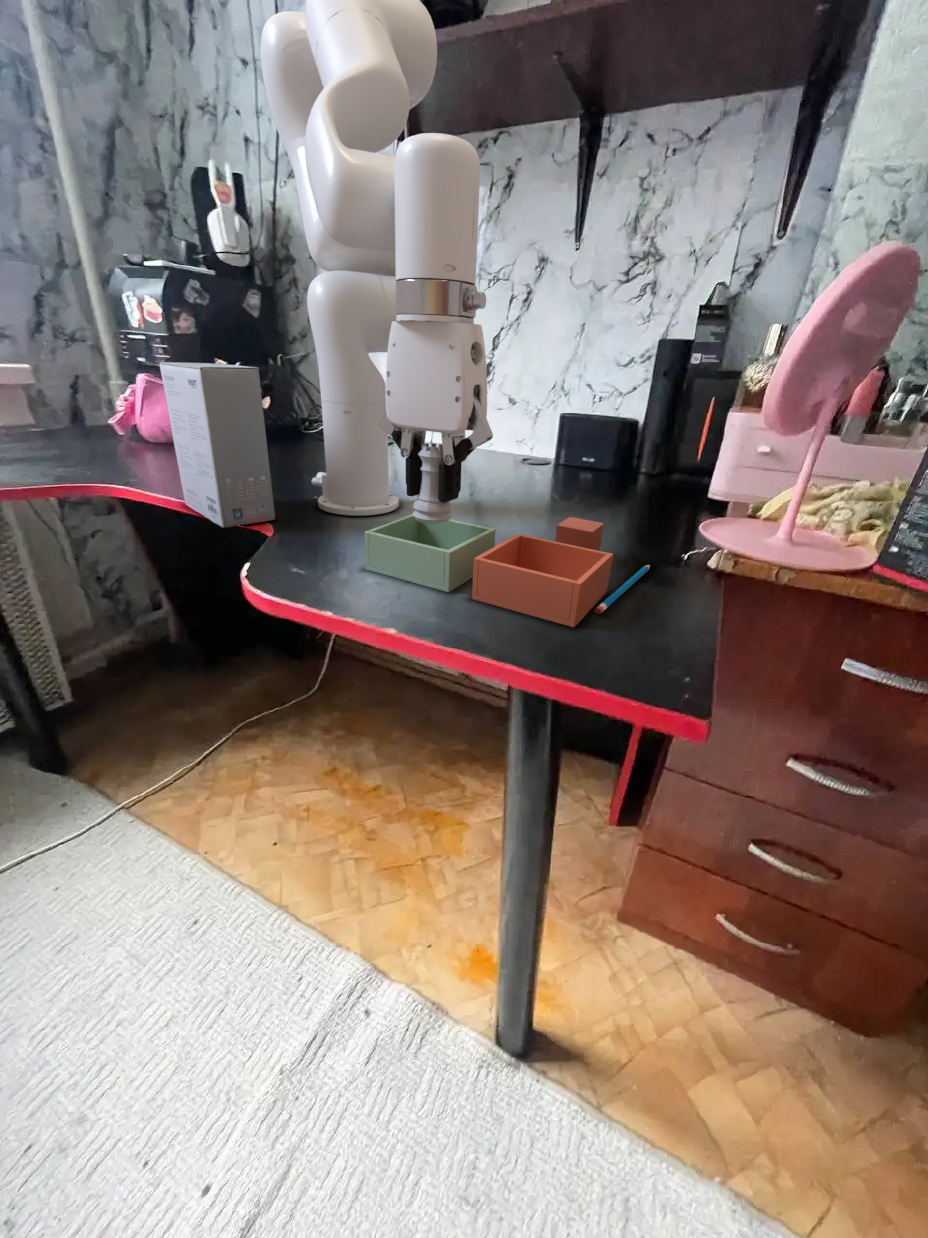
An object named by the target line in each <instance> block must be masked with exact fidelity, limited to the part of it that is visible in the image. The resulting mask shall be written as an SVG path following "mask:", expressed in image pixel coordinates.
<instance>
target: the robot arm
mask: <svg viewBox="0 0 928 1238" xmlns="http://www.w3.org/2000/svg"><path fill="white" fill-rule="evenodd" d="M304 9H305V10H304V12H303V11H294V10H290V11H289V10H288V11H279V12H278V13H277V12H276V13H275V14H273V15H272V16H270V17H269V18H268V19H267V21H266V22H265V24H264V25H263V28H262V32H261V39H260V62H261V71H262V80H263V86H264V91H265V96H266V100H267V104H268V107H269V111H270V115H271V117H272V120H273V123H274V126H275V129H276V131H277V133H278V136H279V138H280V141H281V142H282V144H283V145H282V146H283V147H284V149H285V152H286V154H287V156H288V159H289V161H290V164H291V167H292V171H293V174H294V180H295V186H296V191H297V197H298V203H299V209H300V214H301V220H302V225H303V230H304V235H305V239H306V244H307V247H308V251H309V254H310V257H311V258H312V260H313V262H314V263H315V264H316V265H317V266H318V267H319V268H321V269H322V270H324V271H326V272H322V273H320V274H318V275H317V276H315V277H314V278H313V279H312V280H311V282H310V284H309V285H308V288H307V294H306V304H307V314H308V320H309V323H310V328H311V334H312V338H313V343H314V348H315V353H316V360H317V368H318V378H319V390H320V402H321V403H320V404H321V416H322V417H321V418H322V431H323V433H322V434H323V448H324V461H325V462H324V463H325V472H324V471H323V472H322V471H319V472H317V473H316V475H315V477H312V478H311V485H312V486H314V487H318V488H321V489H322V495H320V496H319V497H318V498H317V505H318V508H319V509H320V510H322V511H324V512H327V513H330V514H333V515H340V516H351V517H352V516H354V517H363V516H376V515H377V516H378V515H383V514H387V513H390V512H393V511H395V510H397V509H398V508H399V507H400V499H399V497H398V496H397V495H396V494H393V493H391V492H390V480H389V479H390V475H389V474H390V473H389V471H390V469H389V465H390V464H389V437H391V438H392V440H393V442H394V443H395V445H396V446H397V448H398V449H399V450H400V451H399V452H400V456H401V458H402V459H405V485H406V495H407V496H408V497H415V496H416V497H417V496H418V495H419V493H420V489H421V481H422V471H421V469H420V468H421V467H422V460H421V458H420V457H419V455H418V453H419V452H420V451H421V449H422V444H426V443H425V442H426V436H427V435H426V434H427V432H431V433H432V432H433V433H441V444H442V446H443V457H444V464H440V466H439V487H438V500H439V501H440V502H443V503H446V502H451V501H454V500H456V499H458V498H459V495H460V492H461V488H462V463H464V462H465V461H467V458H468V457H469V456H470V455H471V454H472V453H473V452H474V450H476V449H477V448H478V447H480V446H482V445H484V444H486V443H487V442H489V441H492V439H493V437H494V433H493V431H492V429H491V426H490V424H489V421H488V418H487V415H488V372H487V371H488V369H487V356H486V344H485V338H484V332H483V331H484V330H483V326H482V325H483V324H479V323H475V318H476V314H477V313H476V312H477V311H478V310H484V309H485V307H486V305H487V296H486V293H485V292H484V291H478V286H477V285H476V283H477V282H476V280H477V260H478V259H477V256H478V236H479V235H478V233H479V232H478V231H479V208H480V186H481V185H480V184H481V163H480V157H479V154H478V152H477V150H476V148H475V147H474V146H473V145H472V144H471V142H469V141H467V140H466V139H464V138H461V137H459V136H456V135H452V134H448V133H442V132H441V133H440V132H424V133H423V132H422V133H417V134H415V135H411V136H408V137H406V138H404V140H403V141H401V143H400V144H399V145H398V147H397V148H396V152H395V155H394V156H393V155H388V154H383V153H378V152H381V151H383V150H385V149H386V148H389V147H390V146H391V145H392V144H394V143H395V142H396V141H397V140H398V138H399V137H400V136H401V134H402V133H403V132H404V129H405V128H406V125H407V122H408V118H409V113H410V110H411V109H413V108H414V107H416V106H417V105H418V104H420V102H421V101H423V99H424V98H425V97H426V96H427V94H428V93H429V90H430V89H431V87H432V84H433V81H434V78H435V74H436V70H437V62H438V42H437V41H438V40H437V34H436V29H435V25H434V22H433V19H432V16H431V14H430V13H429V11H428V9H427V7H426V6H425V4H423V2H421V0H306V2H305V8H304ZM370 353H371V354H372V353H374V354H375V353H386V363H385V365H386V366H385V379H384V377H383V375H382V374H381V372H380V370H379V368H378V367H377V366H376V365H375V363H374V362H373V360H372V358H371V357H370V355H369V354H370ZM466 431H472V433H471V434H470V435H468V436H467V437H466Z"/></svg>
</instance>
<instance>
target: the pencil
mask: <svg viewBox="0 0 928 1238" xmlns="http://www.w3.org/2000/svg"><path fill="white" fill-rule="evenodd" d="M650 567H651V565H650V564H647V565H644V566H642V567H641V568H640V569H639V570H638V571H637V572H635V573H634V574H633V575H632V576H631V577H630V578H629V579H627V581H625V582H624V583H622V585H621V586H619V587H618V588H617V589H616V590H614V591H613V593H611V594H610V595H609V596H608V597H607V598H606V599H605V600H604V601H602V602H601V603H600V604H599V605H597V607H596V608H595V609H594V614H596V615H601V614H603V612H605V610H607V609H608V608H609V607H610V606H611V605H612V604H613V603H615V601H617V600H618V599H619V598H620V597H621V596H622V595H623V594H624V593H625V592H627V591H628V590H629V589H630V588H631V587H632V586H633V585H634V584H635V583H636V582H638V581H639V580H640V579H641V578H642V577H643V576H644V575H645V574H646V573H648V572H649V570H650Z"/></svg>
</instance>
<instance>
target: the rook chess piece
mask: <svg viewBox="0 0 928 1238" xmlns="http://www.w3.org/2000/svg"><path fill="white" fill-rule="evenodd" d="M418 455H419V457H420V458H421V460H422V467H421V468H420V469H421V471H422V481H421V489H420V493H419V495H416V498H417V499H416V500H415V501H414V503H413V506H412V507H413V509H414V510H415V511H413V512H412V514H413V516H414V518H415V519H416V520H417V521H419V522H423V523H431V524H437V523H444V522H447V521H449V519H450V520H451V519H452V517H453V514H452V513H451V512H450V511H451V510H452V507H453V506H452V502H451V501H449V502H446V503H443V502H440V501H439V500H438V487H439V466H440V464H444V457H443V446H442V443H438V447H437V443H433V442H432V443H431V446H430V444H429V443H428V442H427V443H425V444H422V449H421V451H420V452H419V453H418Z"/></svg>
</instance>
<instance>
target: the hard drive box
mask: <svg viewBox="0 0 928 1238" xmlns="http://www.w3.org/2000/svg"><path fill="white" fill-rule="evenodd" d="M158 366H159V370H160V375H161V381H162V386H163V391H164V398H165V402H166V408H167V414H168V419H169V424H170V429H171V436H172V440H173V446H174V451H175V452H174V453H175V458H176V462H177V468H178V473H179V478H180V485H181V490H182V495H183V500H184V504H185V506H186V507H188V508H190V509H191V510H193V511H194V512H196V513H198V514H200V515H201V516H203V517H205V518H206V519H208V520H209V521H211V522H212V523H214V524H216V525H217V526H219V527H221V528H223V529H225V528H226V529H227V528H232V527H238V526H245V525H251V524H256V523H262V522H263V523H264V522H269V521H275V520H276V513H275V505H274V495H273V485H272V478H271V469H270V461H269V460H270V459H269V452H268V442H267V441H268V440H267V434H266V425H265V416H264V407H263V406H264V405H263V398H262V389H261V379H260V372H259V371H260V367H256V366H245V365H236V364H223V363H222V364H221V363H211V362H210V363H209V362H173V361H171V362H169V361H168V362H167V361H164V362H163V361H160V362H159V365H158Z"/></svg>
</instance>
